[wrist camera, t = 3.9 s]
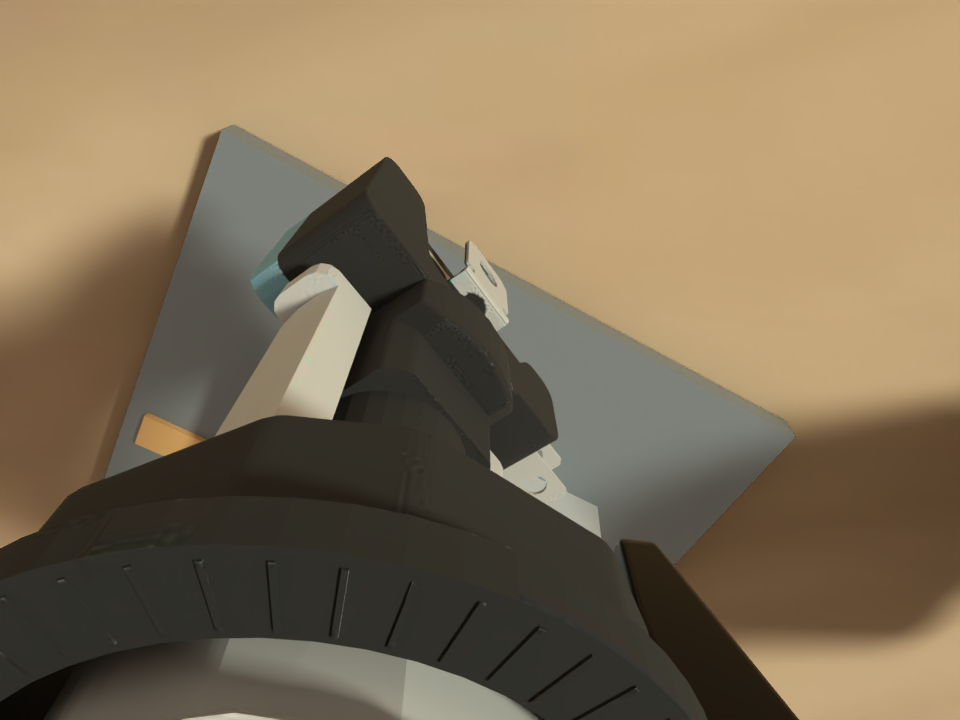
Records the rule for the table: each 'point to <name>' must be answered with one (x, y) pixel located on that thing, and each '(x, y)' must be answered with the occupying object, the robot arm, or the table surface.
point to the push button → (342, 524)
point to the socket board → (529, 335)
